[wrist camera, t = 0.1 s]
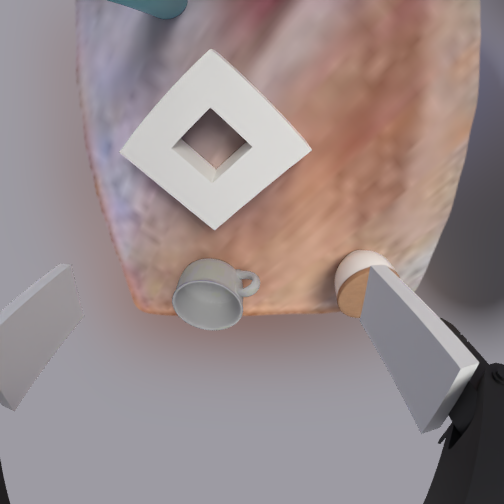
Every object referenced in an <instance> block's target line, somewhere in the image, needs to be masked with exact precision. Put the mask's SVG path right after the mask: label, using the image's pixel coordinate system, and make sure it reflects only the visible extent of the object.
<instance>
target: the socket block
mask: <svg viewBox="0 0 504 504" xmlns="http://www.w3.org/2000/svg"><path fill="white" fill-rule="evenodd" d="M210 108H211V109H213V110H214V111H215V112H216V113H217V114H218V115H219V116H220V117H221V118H222V119H223V120H225V121H226V122H227V123H228V124H229V125H230V126H231V127H232V128H233V129H234V130H235V131H236V132H237V133H238V134H239V135H241V136H242V137H243V138H244V139H245V140H246V141H247V142H246V143H245V144H243V145H242V146H241V147H240V148H239V149H238V150H237V151H236V152H235V153H233V154H232V155H231V156H230V157H229V158H228V159H227V160H226V161H225V162H224V163H223V164H222V165H220V166H219V167H218V168H217V169H215V168H214V167H213V166H212V165H211V164H210V163H208V162H207V161H206V160H205V159H204V158H203V157H202V156H200V155H199V154H198V153H197V152H196V151H195V150H194V149H192V148H191V147H190V146H189V145H188V144H187V143H186V142H184V141H183V140H182V139H181V137H182V136H183V135H184V134H185V133H186V132H187V131H188V130H189V129H190V128H191V127H192V126H193V125H194V124H195V123H196V121H197V120H198V119H199V118H200V117H201V116H202V115H203V114H204V113H205V112H206V111H207V110H208V109H210ZM310 151H312V149H311V148H310V146H309V145H308V143H307V142H306V140H305V139H304V138H303V137H302V135H301V134H300V133H299V132H298V131H297V130H296V129H295V128H294V127H293V125H292V124H291V123H290V122H289V121H288V120H287V119H286V118H285V117H284V116H283V115H282V114H281V113H280V112H279V111H278V109H277V108H276V107H275V106H274V105H273V104H272V103H271V102H270V101H269V100H268V99H267V98H266V97H265V96H264V95H263V94H262V93H261V92H260V91H259V90H258V89H257V88H256V87H255V86H254V85H253V84H252V83H251V82H250V81H249V80H247V79H246V78H245V77H244V76H243V75H242V74H241V73H240V72H239V71H238V70H237V69H236V68H235V67H234V66H232V65H231V64H230V63H229V62H228V61H227V60H226V59H225V58H223V57H222V56H221V55H220V54H219V53H218V52H217V51H215V50H213V49H210V50H209V51H207V52H206V53H205V54H204V55H203V56H202V57H201V58H200V59H199V60H198V61H197V62H196V63H195V64H194V65H193V66H192V67H191V68H190V69H189V70H188V71H187V72H186V73H185V74H184V75H183V76H182V77H181V78H180V79H179V80H178V81H177V82H176V83H175V84H174V86H173V87H172V88H171V89H170V90H169V91H168V92H167V93H166V94H165V95H164V97H163V98H162V99H161V100H160V101H159V102H158V103H157V105H156V106H155V107H154V108H153V109H152V110H151V112H150V113H149V114H148V115H147V116H146V118H145V119H144V120H143V121H142V123H141V124H140V125H139V126H138V128H137V129H136V130H135V131H134V133H133V134H132V135H131V137H130V138H129V139H128V141H127V142H126V143H125V145H124V146H123V147H122V149H121V150H120V151H119V153H120V154H122V155H123V156H124V157H125V158H127V159H128V160H129V161H130V162H131V163H133V164H134V165H135V166H136V167H137V168H139V169H140V170H141V171H142V172H144V173H145V174H146V175H147V176H148V177H150V178H151V179H152V180H153V181H155V182H156V183H157V184H158V185H159V186H161V187H162V188H163V189H164V190H166V191H167V192H168V193H169V194H170V195H172V196H173V197H174V198H175V199H177V200H178V201H179V202H180V203H181V204H183V205H184V206H185V207H186V208H188V209H189V210H190V211H191V212H193V213H194V214H195V215H196V216H197V217H199V218H200V219H201V220H202V221H204V222H205V223H206V224H207V225H209V226H210V227H211V228H212V229H213V230H216V229H217V228H218V227H219V226H220V225H222V224H223V223H224V222H225V221H226V220H227V219H229V218H230V217H231V216H232V215H233V214H234V213H236V212H237V211H238V210H239V209H240V208H242V207H243V206H244V205H245V204H246V203H247V202H249V201H250V200H251V199H252V198H253V197H255V196H256V195H257V194H258V193H259V192H261V191H262V190H263V189H264V188H266V187H267V186H268V185H269V184H270V183H272V182H273V181H274V180H275V179H277V178H278V177H279V176H280V175H281V174H283V173H284V172H285V171H286V170H288V169H289V168H290V167H291V166H293V165H294V164H295V163H296V162H298V161H299V160H300V159H301V158H303V157H304V156H305V155H307V154H308V153H309V152H310Z"/></svg>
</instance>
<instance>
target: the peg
mask: <svg viewBox="0 0 504 504" xmlns="http://www.w3.org/2000/svg"><path fill="white" fill-rule="evenodd" d="M108 1H111V2H115V3H118V4H121V5H124V6H127V7H130V8H133V9H136V10H139V11H142V12H145V13H147V14H150V15H153V16H155V17H158V18H160V19H171V18H174V17H176V16H178V15H180V14H181V13H182V12H183V11H184V9H185V8H186V6H187V0H108Z"/></svg>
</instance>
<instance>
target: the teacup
mask: <svg viewBox="0 0 504 504" xmlns="http://www.w3.org/2000/svg"><path fill="white" fill-rule="evenodd" d="M241 279H251V280H252V282H251V284H250V285H249V286H248V287H246V288H243V284H242V280H241ZM259 287H260V279H259V277H258V276H257V275H256V274H255V273H253V272H251V271H241V270H240V269H234V268H233V267H232V266H231V265H229V264H228V263H226V262H224V261H221V260H218V259H212V258H206V259H200V260H197V261H195V262H193V263H191V264H190V265H189V266H187V268H186V269H185V270H184V271H183V273H182V275H181V277H180V280H179V282H178V285H177V288H176V291H175V292H174V295H173V298H172V304H173V307H174V310H175V312H176V313H177V315H178V316H179V317H180V318H181V319H182V320H184V321H185V322H186V323H188V324H190V325H192V326H194V327H197V328H200V329H205V330H223V329H226V328H229V327H231V326H233V325H235V324H236V323H237V322H238V321H239V320H240V318H241V316H242V313H243V306H242V303H243V297H248V296H251V295H253V294H255V293H256V292H257V290H258V289H259Z"/></svg>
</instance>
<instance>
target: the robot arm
mask: <svg viewBox="0 0 504 504" xmlns="http://www.w3.org/2000/svg"><path fill="white" fill-rule="evenodd" d="M83 318H84V313H83V310H82V306H81V302H80V298H79V295H78V291H77V287H76V283H75V278H74V274H73V269H72V265H71V264H59V265H57V266H56V267H55V268H53V269H52V270H51V271H49V272H48V273H47V274H45V275H44V276H43V277H41V278H40V279H39V280H38V281H36V282H35V283H34V284H33V285H32V286H30V287H29V288H28V289H26V290H25V291H24V292H23V293H22V294H20V295H19V296H18V297H17V298H15V299H14V300H13V301H12V302H11V303H10V304H8V305H7V306H6V307H5V308H4V309H3V310H1V311H0V403H1V404H2V405H3V406H5V407H7V408H9V409H11V410H13V411H15V410H16V408H17V407H18V405H19V404H20V402H21V401H22V399H23V398H24V396H25V395H26V393H27V392H28V390H29V389H30V387H31V386H32V384H33V383H34V381H35V380H36V379H37V377H38V376H39V375H40V373H41V372H42V370H43V369H44V368H45V366H46V365H47V364H48V362H49V361H50V359H51V358H52V357H53V356H54V354H55V353H56V352H57V350H58V349H59V348H60V346H61V345H62V344H63V342H64V341H65V340H66V339H67V337H68V336H69V335H70V334H71V332H72V331H73V330H74V328H75V327H76V326H77V325H78V324H79V322H80V321H81V320H82V319H83ZM360 322H361V324H362V326H363V327H364V329H365V331H366V332H367V334H368V336H369V338H370V339H371V341H372V343H373V345H374V346H375V348H376V350H377V352H378V353H379V355H380V357H381V358H382V360H383V362H384V364H385V365H386V367H387V369H388V371H389V373H390V375H391V377H392V378H393V380H394V382H395V384H396V386H397V387H398V389H399V391H400V393H401V395H402V397H403V399H404V401H405V403H406V405H407V407H408V408H409V410H410V412H411V414H412V416H413V418H414V420H415V422H416V424H417V426H418V428H419V430H420V432H421V434H422V433H425V432H428V431H431V430H434V429H437V428H439V427H441V425H442V424H443V422H444V421H445V419H446V418H447V417H448V415H449V417H450V418H451V420H452V423H451V425H450V426H449V427H448V429H447V430H446V432H445V433H444V434H443V435H442V437H441V438H440V440H439V442H438V443H439V444H441V442H442V441H443V440H444V439H445V438H446V440H445V443H444V447H443V450H442V454H441V457H440V460H439V463H438V466H437V469H436V472H435V475H434V478H433V481H432V483H431V486H430V489H429V491H428V494H427V496H426V499H425V501H424V503H423V504H504V365H503V364H499V363H494V364H490V365H489V364H488V363H487V362H486V361H485V360H484V358H483V357H482V356H481V355H480V354H479V353H478V352H477V351H476V349H475V348H474V347H473V346H472V345H471V344H470V343H469V342H467V339H466V338H465V337H464V336H463V335H460V332H459V331H458V330H457V329H456V328H455V327H454V326H453V325H452V324H451V323H449V322H447V321H446V320H444V319H442V318H439V317H438V316H437V315H436V314H435V313H434V312H433V311H432V310H431V309H430V308H429V307H428V306H427V305H426V304H425V303H424V302H423V301H422V300H421V299H420V298H419V297H418V296H417V295H416V294H415V293H414V292H413V291H412V290H411V289H410V288H409V287H408V286H407V285H406V284H405V283H404V282H403V281H402V280H401V279H400V278H399V277H398V276H397V275H396V274H395V273H394V272H392V271H391V270H390V269H389V268H388V267H387V266H386V265H370V270H369V276H368V282H367V287H366V293H365V298H364V303H363V307H362V312H361V317H360ZM0 504H10V501H9V498H8V494H7V490H6V486H5V481H4V477H3V472H2V466H1V462H0Z"/></svg>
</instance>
